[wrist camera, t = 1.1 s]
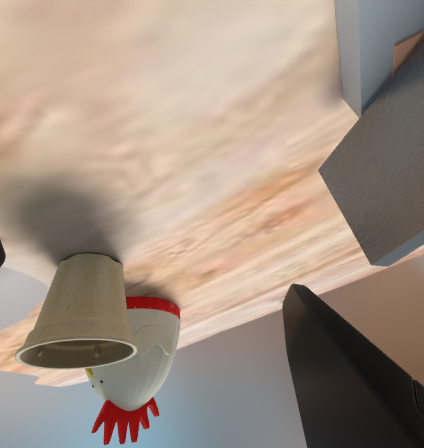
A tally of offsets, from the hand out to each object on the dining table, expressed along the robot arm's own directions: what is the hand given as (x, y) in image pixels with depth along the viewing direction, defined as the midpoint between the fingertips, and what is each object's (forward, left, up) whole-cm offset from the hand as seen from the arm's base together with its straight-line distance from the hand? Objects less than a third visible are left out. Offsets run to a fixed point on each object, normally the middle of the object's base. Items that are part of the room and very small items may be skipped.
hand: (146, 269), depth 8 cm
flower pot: (+12, -16, -11) cm, 23 cm away
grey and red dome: (+26, -22, -11) cm, 36 cm away
